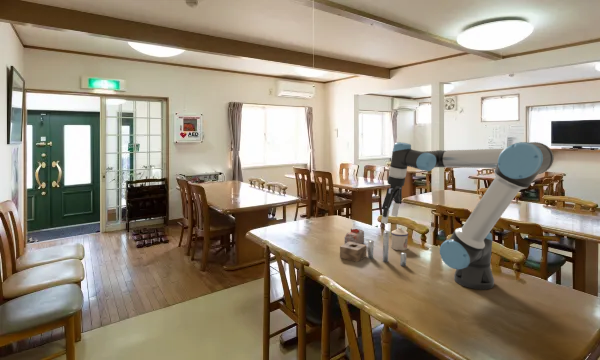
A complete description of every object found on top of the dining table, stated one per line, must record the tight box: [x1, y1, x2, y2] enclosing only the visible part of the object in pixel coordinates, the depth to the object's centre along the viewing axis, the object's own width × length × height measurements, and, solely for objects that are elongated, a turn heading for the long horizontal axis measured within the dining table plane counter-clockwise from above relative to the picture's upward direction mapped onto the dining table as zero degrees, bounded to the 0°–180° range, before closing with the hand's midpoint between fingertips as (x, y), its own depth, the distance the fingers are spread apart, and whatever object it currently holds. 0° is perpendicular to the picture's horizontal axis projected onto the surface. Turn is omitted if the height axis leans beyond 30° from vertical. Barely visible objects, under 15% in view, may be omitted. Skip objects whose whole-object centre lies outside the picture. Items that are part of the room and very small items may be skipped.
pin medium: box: [367, 239, 375, 260], centre depth 173 cm, size 3×3×9 cm
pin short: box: [400, 251, 407, 267], centre depth 163 cm, size 3×3×6 cm
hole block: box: [339, 242, 367, 263], centre depth 174 cm, size 10×10×6 cm
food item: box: [344, 228, 365, 244], centre depth 192 cm, size 14×8×10 cm, turn 149°
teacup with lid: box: [390, 227, 409, 251], centre depth 189 cm, size 12×9×12 cm
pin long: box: [382, 231, 390, 263], centre depth 167 cm, size 3×3×15 cm
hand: (389, 219), depth 160 cm, fingers open, 13 cm apart
